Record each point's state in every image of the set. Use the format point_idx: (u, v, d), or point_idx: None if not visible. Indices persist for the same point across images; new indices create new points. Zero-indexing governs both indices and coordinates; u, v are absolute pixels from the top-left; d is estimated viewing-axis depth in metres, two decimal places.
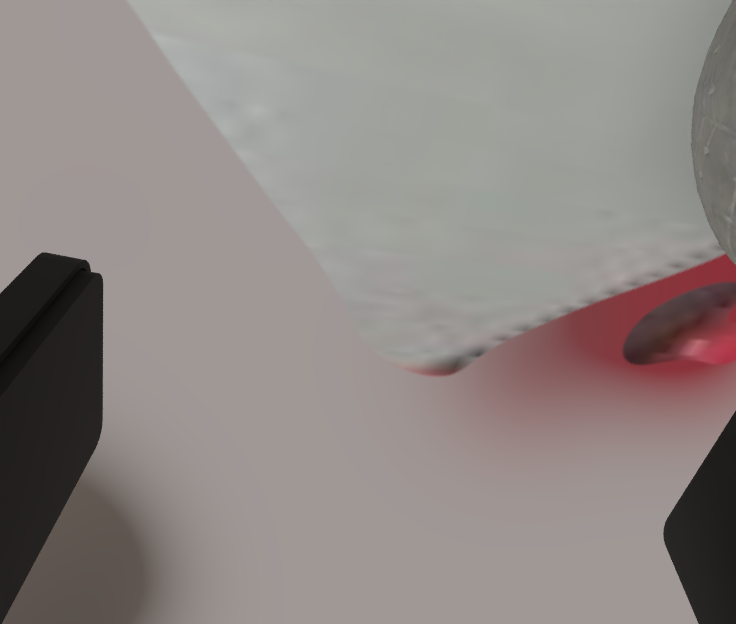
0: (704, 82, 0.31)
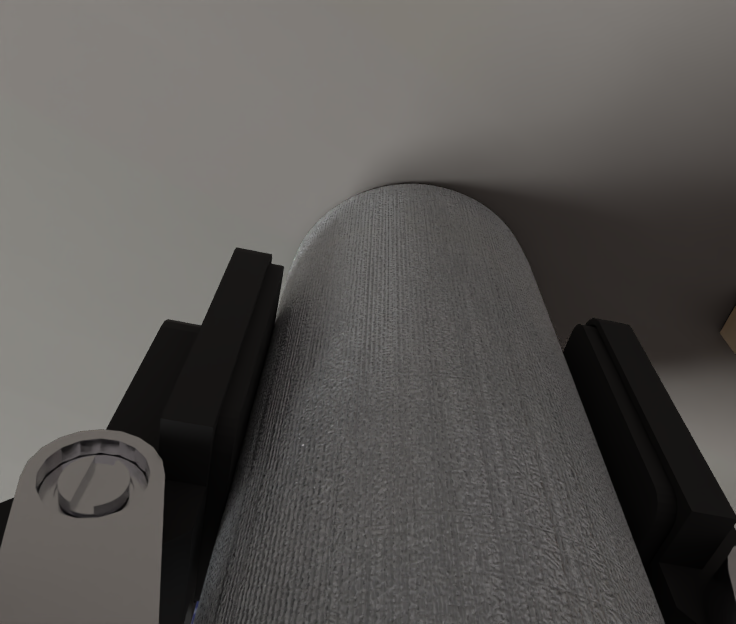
0: None
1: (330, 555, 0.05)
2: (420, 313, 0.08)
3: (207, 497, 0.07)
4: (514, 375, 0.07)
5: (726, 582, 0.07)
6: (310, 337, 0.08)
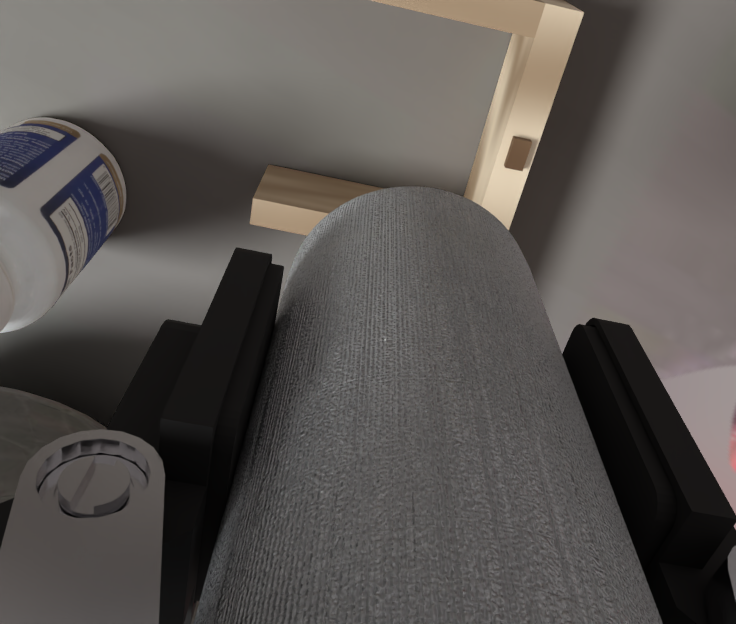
0: None
1: (329, 561, 0.05)
2: (419, 317, 0.08)
3: (207, 497, 0.07)
4: (515, 378, 0.07)
5: (726, 582, 0.07)
6: (309, 341, 0.08)
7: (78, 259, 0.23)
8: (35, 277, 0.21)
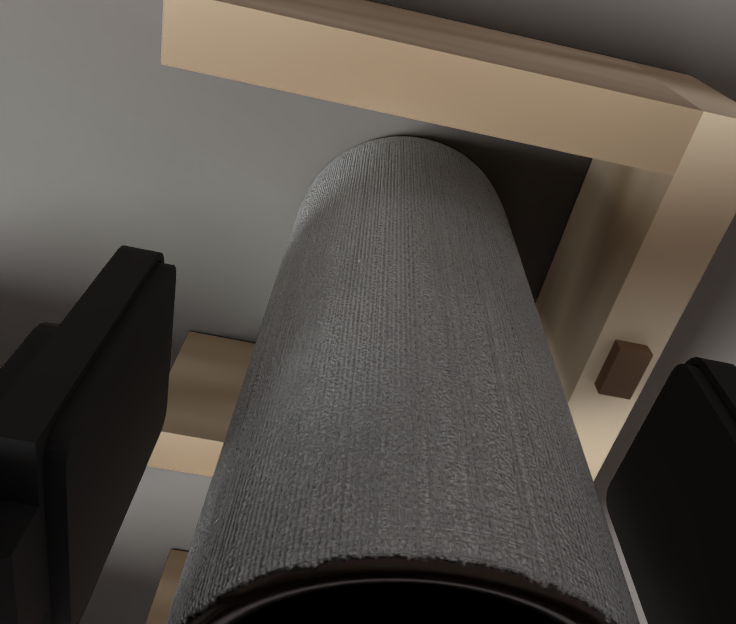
0: None
1: (328, 362, 0.07)
2: (402, 222, 0.10)
3: (48, 517, 0.07)
4: (475, 265, 0.09)
5: None
6: (315, 244, 0.10)
7: None
8: None
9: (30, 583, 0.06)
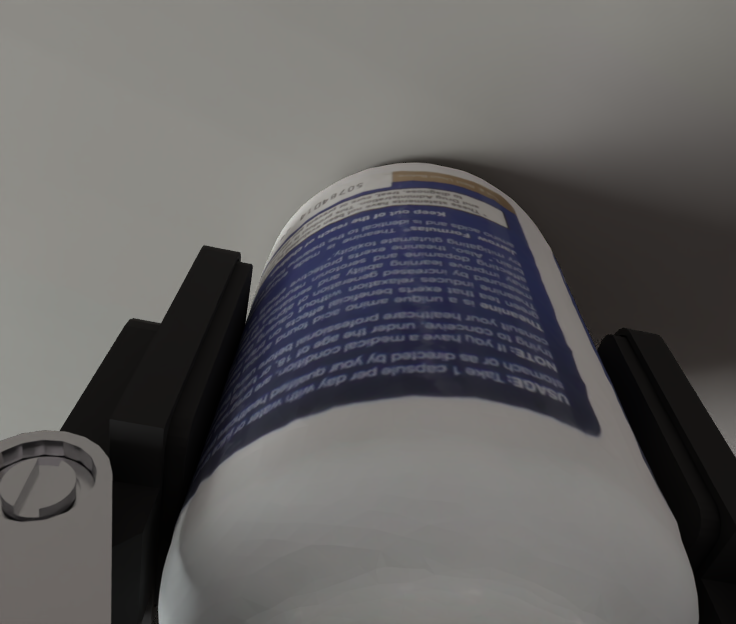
0: None
1: None
2: None
3: (162, 499, 0.07)
4: None
5: None
6: None
7: None
8: None
9: (148, 560, 0.07)
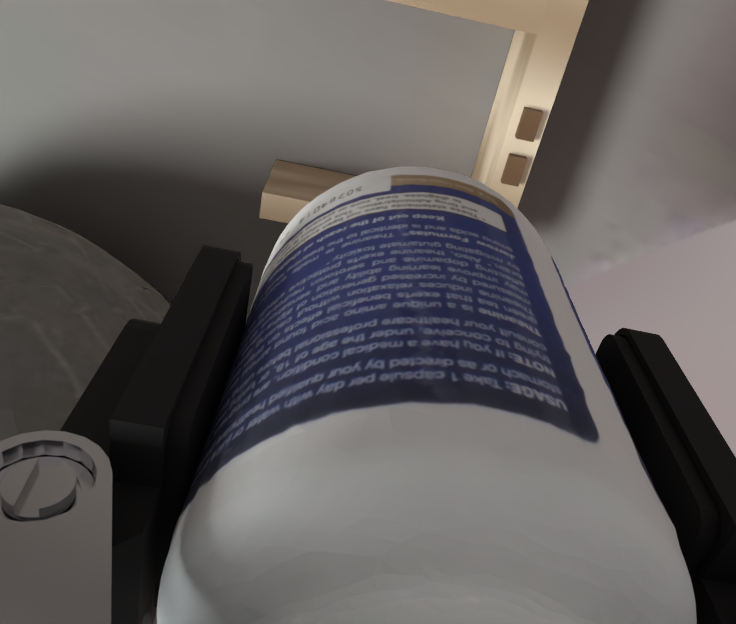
0: None
1: None
2: None
3: (163, 499, 0.07)
4: None
5: None
6: None
7: None
8: None
9: (148, 560, 0.07)
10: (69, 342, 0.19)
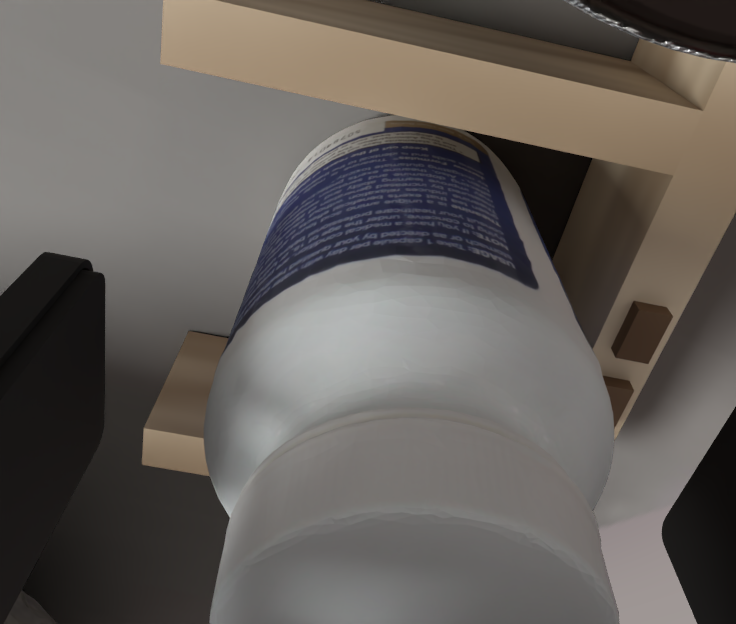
0: None
1: None
2: None
3: None
4: None
5: None
6: None
7: None
8: None
9: None
10: None
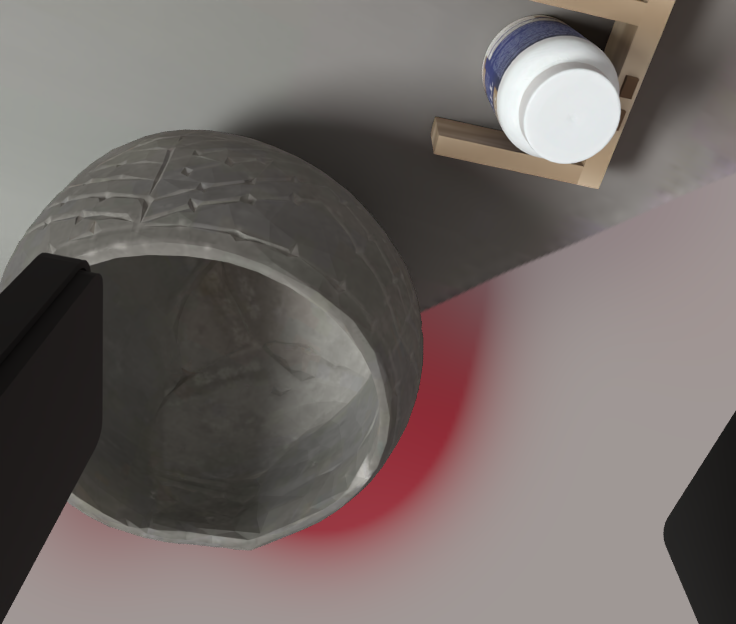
0: None
1: None
2: None
3: None
4: None
5: None
6: None
7: None
8: None
9: None
10: (346, 220, 0.30)
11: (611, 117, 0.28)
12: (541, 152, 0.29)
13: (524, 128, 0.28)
